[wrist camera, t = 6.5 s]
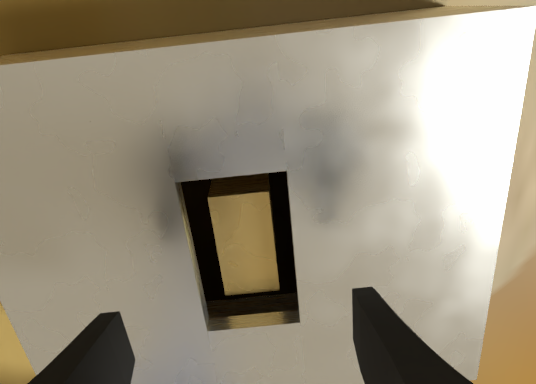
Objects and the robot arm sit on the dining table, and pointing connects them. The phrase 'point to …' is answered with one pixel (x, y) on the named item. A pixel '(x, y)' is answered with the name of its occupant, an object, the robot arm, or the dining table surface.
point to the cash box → (256, 162)
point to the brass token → (244, 233)
